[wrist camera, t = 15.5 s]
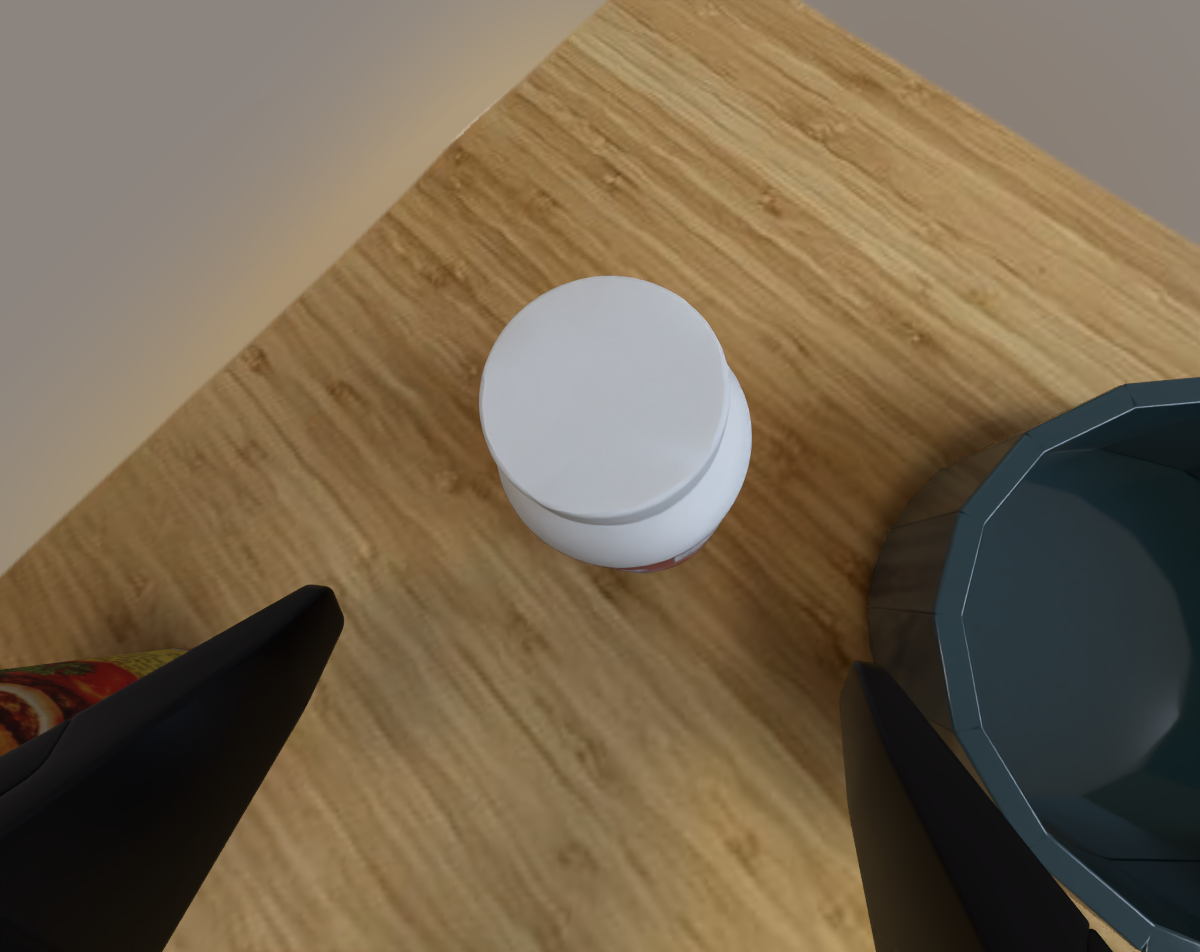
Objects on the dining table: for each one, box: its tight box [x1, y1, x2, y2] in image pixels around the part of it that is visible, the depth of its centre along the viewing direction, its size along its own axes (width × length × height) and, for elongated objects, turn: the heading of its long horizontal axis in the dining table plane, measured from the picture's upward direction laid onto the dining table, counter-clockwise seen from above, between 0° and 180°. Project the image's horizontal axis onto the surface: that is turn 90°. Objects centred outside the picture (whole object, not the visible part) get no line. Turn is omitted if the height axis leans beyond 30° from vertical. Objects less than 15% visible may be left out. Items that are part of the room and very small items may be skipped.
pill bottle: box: [479, 276, 752, 573], centre depth 15 cm, size 6×6×11 cm
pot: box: [867, 377, 1200, 952], centre depth 15 cm, size 14×14×5 cm
